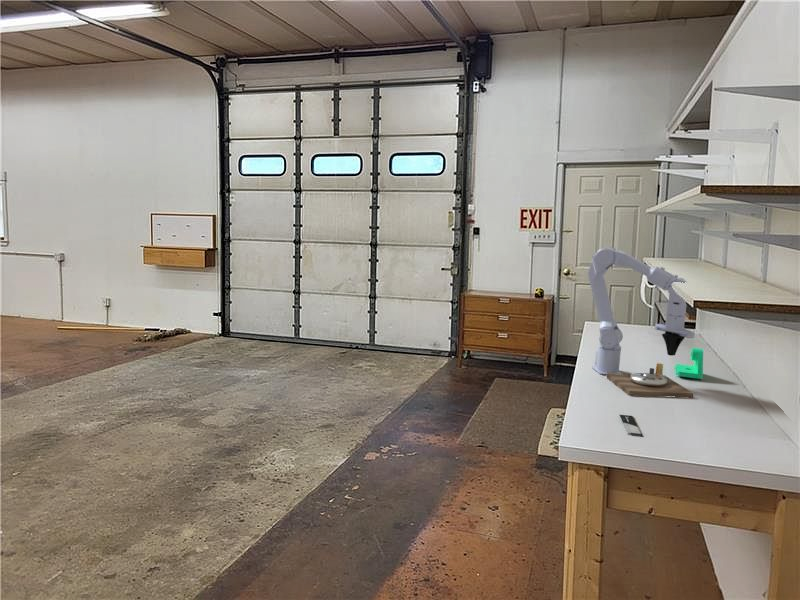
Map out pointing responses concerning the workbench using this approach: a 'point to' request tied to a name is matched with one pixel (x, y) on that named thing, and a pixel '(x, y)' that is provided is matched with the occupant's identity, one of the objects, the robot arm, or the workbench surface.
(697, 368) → the camera mount
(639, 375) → the flange plate
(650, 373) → the dowel pin
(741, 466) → the workbench surface
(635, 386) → the fixture board
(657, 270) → the robot arm
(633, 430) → the computer memory module
